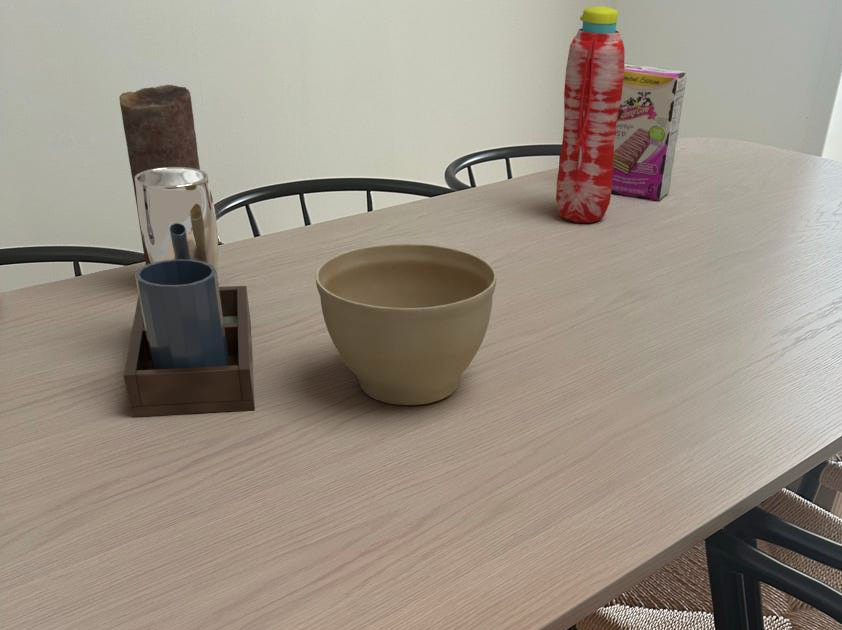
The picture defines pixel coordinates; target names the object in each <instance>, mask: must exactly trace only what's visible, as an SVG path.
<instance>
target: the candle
mask: <svg viewBox="0 0 842 630" xmlns="http://www.w3.org/2000/svg"><path fill="white" fill-rule="evenodd" d="M119 105H120V106H119V107H120V112H121V119H122V126H123V132H124V138H125V143H126V148H127V156H128V162H129V168H130V174H131V180H132V185H133V191H134V199H135V203H136V210H137V216H138V217H137V218H138V224H139V230H140V236H141V244H142V250H143V258H144V263H145V265H147V264H150V263H151V262H150V259H149V256H148V253H147V250H146V246H145V243H144V240H143V235H142V230H141V226H140V219H139V212H138V204H137V193H136V184H135V179H134V178H135V176H136V175H137V174H138V173H140V172H143V171H146V170H149V169H154V168H162V167H188V168H195V169H199V170H201V166H200V159H199V154H198V153H199V152H198V142H197V134H196V130H195V119H194V118H195V117H194V112H193V104H192V96H191V91H190V90H189V89H188V88H186V87H185V86H178V85H173V84H165V85H159V86H155V87H143V88H141V89H138V90H136V91H126V92H122V93H121V94H120V95H119Z"/></svg>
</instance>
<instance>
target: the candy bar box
mask: <svg viewBox="0 0 842 630" xmlns="http://www.w3.org/2000/svg"><path fill="white" fill-rule="evenodd" d="M687 76H688V73H687V71H684V70H677V69H669V68H661V67H654V66H647V65H639V64H633V63H625V62H624V79H623V88H622V97H621V102H620V108H621V110H622V111H623V112H624V113H623V114H622V116H621V117H620V119H619V120H618V121H617V123H616V132H615V140H614V158H613V179H612V189H611V194H616V195H622V196H627V197H628V196H629V197H633V198H639V199H645V200H651V201H657V202H659V201H661V200H662V199H664V197H666V196H667V195H668V194H669V193H670V189H671V180H672V175H673V167H674V161H675V154H676V148H677V141H678V134H679V128H680V122H681V121H680V120H681V114H682V108H683V103H684V95H685V89H686V82H687Z"/></svg>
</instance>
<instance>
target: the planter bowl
mask: <svg viewBox="0 0 842 630" xmlns="http://www.w3.org/2000/svg"><path fill="white" fill-rule="evenodd" d="M314 277H315V285H316V289H317V291H318V294H319V297H320V298H319V299H320V305H321V311H322V315H323V320H324V322H325V326H326V329H327V332H328V335H329V337H330V339H331V341H332V343H333V345H334V347H335V349H336V350H337V352H338V354H339V355H340V357H341V358H342V360H343V361H344V363H345V364H346V366H348V368H349V369H350V370H351V371H352V373H354V374H355V375H356V376H357V378H358V382H359V383H358V384H359V386H360V388H361V391H363V392H364V393H365V394H366V395H367V396H368V397H370V398H372V399H375V400H376V401H379V402H382V403H386V404H390V405H397V406H419V405H420V406H421V405H428V404H431V403H435V402H439V401H442V400H443V399H445V398H448V397H449V396H451V395H452V394H453V393H454V392H455V391H456V390H457V389H458V388H459V383H460V379H461V376H462V375H463V373H464V372H465V371H466V370H467V368H468V367H469V366H470V364H471V363H472V362H473V360H474V359H475V357H476V355H477V353H478V352H479V350H480V347H481V345H482V343H483V341H484V338H485V336H486V334H487V331H488V327H489V323H490V319H491V316H492V315H491V314H492V313H491V312H492V308H493V298H494V297H493V295H494V293H495V289H496V286H497V273H496V269H494V267H493V265H491V264H490V263H489V262H488V261H487V260H485V259H484V258H482V257H480V256H478V255H477V254H474V253H472V252H469V251H466V250H462V249H459V248H455V247H450V246H444V245H441V244H440V245H439V244H433V243H432V244H431V243H417V242H415V243H414V242H397V243H396V242H395V243H386V244H385V243H384V244H374V245H367V246H360V247H355V248H352V249H349V250H345V251H342V252H340V253H337V254H335V255H332V256H331V257H329V258H327V259H326V260H325V261H323V262H322V263H321V264H320V265H319V266H318V267H317V269H316V272H315V275H314Z"/></svg>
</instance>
